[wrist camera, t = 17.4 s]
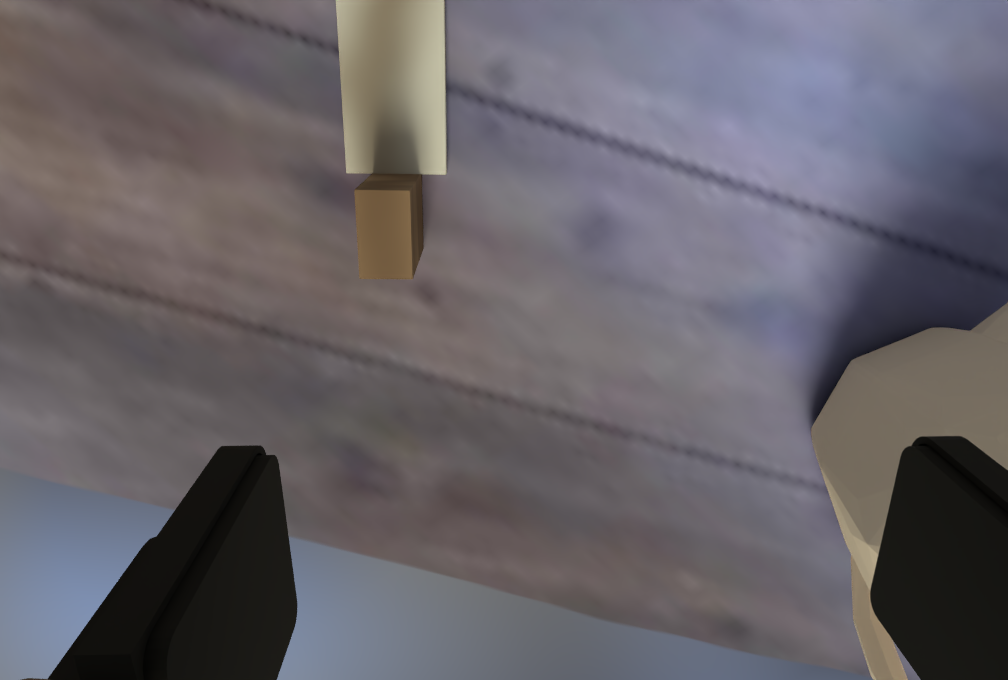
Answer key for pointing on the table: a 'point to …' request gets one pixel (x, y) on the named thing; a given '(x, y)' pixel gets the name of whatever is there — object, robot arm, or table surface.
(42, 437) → the table surface
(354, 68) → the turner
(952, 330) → the cream teapot
